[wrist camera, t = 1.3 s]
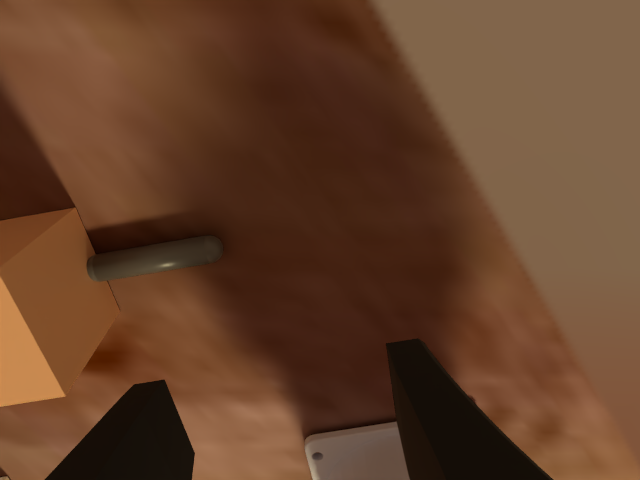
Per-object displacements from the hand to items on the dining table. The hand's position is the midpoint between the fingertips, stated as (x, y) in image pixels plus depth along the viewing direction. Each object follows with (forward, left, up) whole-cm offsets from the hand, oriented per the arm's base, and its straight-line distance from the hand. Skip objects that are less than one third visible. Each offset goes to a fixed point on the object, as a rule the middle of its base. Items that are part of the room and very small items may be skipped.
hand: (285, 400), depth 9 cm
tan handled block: (0, +7, -8) cm, 11 cm away
